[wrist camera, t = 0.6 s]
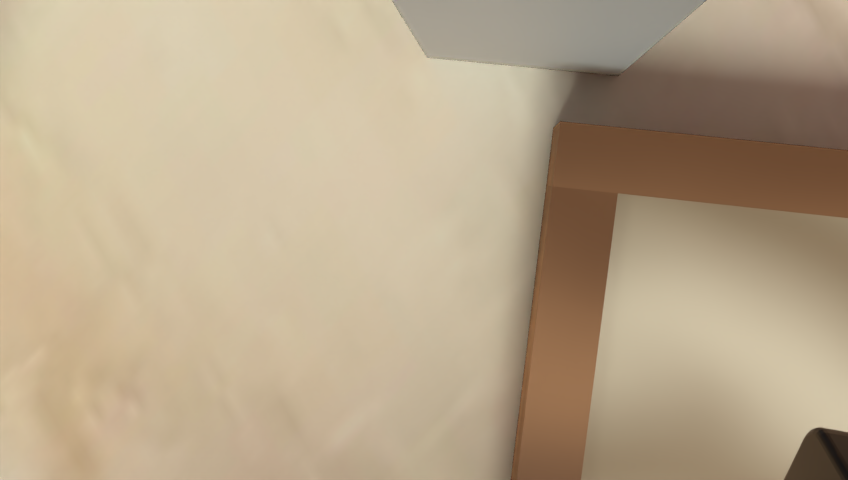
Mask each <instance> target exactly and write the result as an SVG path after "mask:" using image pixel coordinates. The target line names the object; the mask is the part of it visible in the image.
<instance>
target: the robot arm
mask: <svg viewBox="0 0 848 480" xmlns="http://www.w3.org/2000/svg"><path fill="white" fill-rule="evenodd" d="M784 480H848V432H844V431H839V430H833V429H828V428H822V427H818V428H814V429H812V430H810V431H809V432H808V433H807V434H806V436H805V438H804V439H803V441H802V443H801V445H800V447H799V449H798V451H797V454H796V456H795V458H794V460H793V462H792V464H791V466H790V468H789V470H788V472H787V474H786V476H785V478H784Z"/></svg>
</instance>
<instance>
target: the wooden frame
mask: <svg viewBox="0 0 848 480" xmlns="http://www.w3.org/2000/svg"><path fill="white" fill-rule="evenodd" d="M818 427H822V428H828V429H833V430H839V431H844V432H848V150H839V149H829V148H819V147H809V146H800V145H790V144H780V143H770V142H760V141H750V140H740V139H730V138H720V137H710V136H700V135H691V134H681V133H671V132H661V131H651V130H641V129H631V128H621V127H611V126H601V125H591V124H581V123H572V122H562V121H560V122H559V123H558V124H557V125H556V126H555V127H554V128H553V135H552V144H551V152H550V160H549V168H548V177H547V185H546V193H545V202H544V210H543V218H542V226H541V235H540V243H539V251H538V259H537V268H536V276H535V284H534V293H533V301H532V309H531V317H530V326H529V334H528V342H527V350H526V359H525V367H524V375H523V384H522V392H521V400H520V408H519V417H518V425H517V433H516V441H515V450H514V458H513V466H512V475H511V480H784V478H785V476H786V474H787V472H788V470H789V468H790V466H791V464H792V462H793V460H794V458H795V456H796V454H797V451H798V449H799V447H800V445H801V443H802V441H803V439H804V438H805V436H806V434H807V433H808V432H809V431H810V430H812V429H814V428H818Z"/></svg>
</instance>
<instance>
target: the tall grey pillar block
mask: <svg viewBox="0 0 848 480" xmlns="http://www.w3.org/2000/svg"><path fill="white" fill-rule="evenodd" d="M705 1H706V0H392V2H393V3H394V5H395V7H396V8H397V10H398V11H399V13H400V15H401V16H402V18H403V19H404V21H405V23H406V24H407V26H408V27H409V29H410V31H411V32H412V34H413V36H414V37H415V39H416V40H417V42H418V44H419V45H420V47H421V48H422V50H423V52H424V53H425V55H426V57H427V58H437V59H448V60H458V61H469V62H479V63H490V64H500V65H511V66H521V67H532V68H542V69H553V70H563V71H574V72H584V73H595V74H605V75H616V76H619V75H620V74H621V73H622V72H624V71H625V70H626V69H627V68H628V67H629V66H631V65H632V64H633V63H634V62H635V61H636V60H638V59H639V58H640V57H641V56H642V55H643V54H645V53H646V52H647V51H648V50H649V49H650V48H652V47H653V46H654V45H655V44H656V43H657V42H659V41H660V40H661V39H662V38H663V37H664V36H666V35H667V34H668V33H669V32H670V31H671V30H672V29H674V28H675V27H676V26H677V25H678V24H679V23H681V22H682V21H683V20H684V19H685V18H686V17H688V16H689V15H690V14H691V13H692V12H693V11H695V10H696V9H697V8H698V7H699V6H700V5H702V4H703V3H704V2H705Z"/></svg>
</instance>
